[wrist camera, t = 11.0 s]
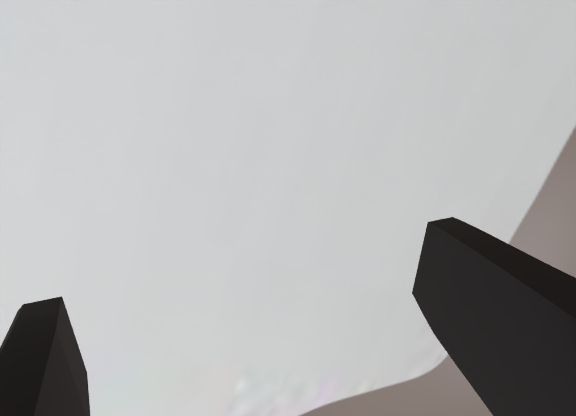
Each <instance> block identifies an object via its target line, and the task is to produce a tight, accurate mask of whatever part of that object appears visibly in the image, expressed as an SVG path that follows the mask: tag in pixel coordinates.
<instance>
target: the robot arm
mask: <svg viewBox="0 0 576 416" xmlns="http://www.w3.org/2000/svg"><path fill="white" fill-rule="evenodd" d="M412 294H413V295H414V297H415V299H416V301H417V303H418V305H419V307H420V309H421V311H422V313H423V315H424V317H425V318H426V320H427V322H428V324H429V326H430V327H431V329H432V331H433V333H434V334H435V336H436V337H437V339H438V340H439V341H440V343H441V344H442V346H443V347H444V348H445V350H446V351H447V353H448V354H449V355H450V357H451V358H452V359H453V361H454V362H455V364H456V365H457V367H458V368H459V369H460V370H461V372H462V373H463V375H464V376H465V377H466V379H467V380H468V382H469V383H470V384H471V386H472V387H473V388H474V390H475V391H476V392H477V394H478V395H479V397H480V398H481V399H482V401H483V402H484V403H485V405H486V406H487V408H488V409H489V410H490V412H491V413H492V414H493V416H576V278H575V277H573V276H570V275H568V274H566V273H564V272H562V271H560V270H558V269H556V268H554V267H552V266H550V265H548V264H546V263H544V262H542V261H540V260H538V259H536V258H534V257H532V256H530V255H528V254H526V253H525V252H523V251H521V250H519V249H517V248H515V247H513V246H511V245H509V244H507V243H505V242H503V241H501V240H499V239H497V238H495V237H493V236H492V235H490V234H488V233H486V232H484V231H482V230H480V229H478V228H476V227H473V226H471V225H469V224H467V223H465V222H463V221H461V220H458V219H456V218H454V217H451V218H446V219H441V220H436V221H431V222H428V224H427V228H426V233H425V237H424V242H423V246H422V251H421V255H420V260H419V264H418V269H417V274H416V278H415V283H414V287H413V292H412ZM0 416H90V406H89V392H88V380H87V371H86V368H85V365H84V362H83V359H82V356H81V353H80V350H79V347H78V344H77V341H76V338H75V335H74V332H73V329H72V326H71V323H70V320H69V317H68V313H67V310H66V307H65V304H64V301H63V298H62V297H57V298H52V299H48V300H43V301H38V302H33V303H28V304H23V305H22V307H21V308H20V309H19V310H18V312H17V314H16V316H15V318H14V320H13V322H12V325H11V327H10V329H9V331H8V333H7V335H6V337H5V339H4V341H3V343H2V345H1V347H0Z"/></svg>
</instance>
